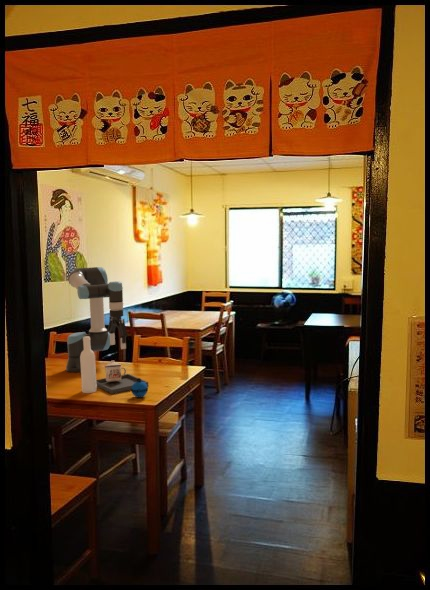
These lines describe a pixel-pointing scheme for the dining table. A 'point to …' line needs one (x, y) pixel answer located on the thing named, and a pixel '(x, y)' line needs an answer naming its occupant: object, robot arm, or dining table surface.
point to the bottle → (88, 367)
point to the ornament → (139, 388)
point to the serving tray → (118, 384)
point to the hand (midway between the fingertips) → (117, 346)
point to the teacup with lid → (114, 372)
